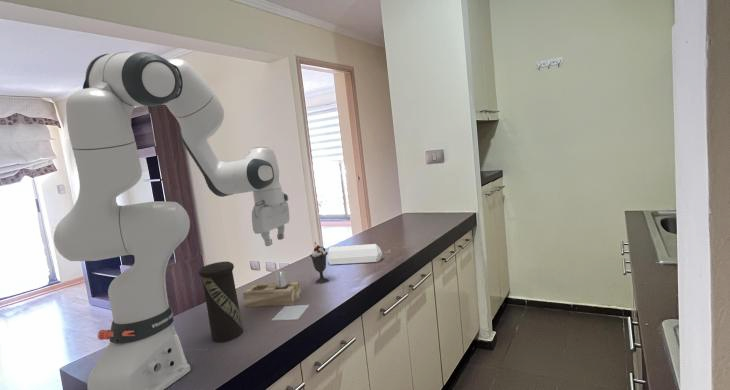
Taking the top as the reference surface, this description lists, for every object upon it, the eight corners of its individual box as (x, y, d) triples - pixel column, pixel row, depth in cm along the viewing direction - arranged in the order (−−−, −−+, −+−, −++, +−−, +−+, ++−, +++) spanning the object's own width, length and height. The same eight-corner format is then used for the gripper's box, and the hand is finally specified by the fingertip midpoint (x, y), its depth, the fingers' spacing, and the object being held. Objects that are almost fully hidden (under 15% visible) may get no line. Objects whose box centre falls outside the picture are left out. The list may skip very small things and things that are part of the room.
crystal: (322, 258, 159) (379, 255, 154) (325, 246, 165) (380, 242, 159) (327, 270, 164) (382, 267, 158) (330, 258, 169) (384, 254, 164)
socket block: (292, 305, 121) (290, 290, 120) (245, 308, 124) (242, 292, 123) (301, 296, 129) (299, 281, 128) (256, 298, 132) (254, 284, 131)
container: (214, 347, 98) (201, 271, 96) (207, 336, 106) (195, 265, 104) (248, 336, 103) (236, 262, 101) (239, 325, 111) (228, 257, 108)
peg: (287, 303, 124) (282, 272, 123) (278, 303, 124) (273, 273, 123) (290, 299, 127) (285, 269, 126) (282, 299, 127) (277, 270, 126)
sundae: (316, 285, 137) (310, 244, 136) (311, 281, 143) (305, 241, 142) (333, 281, 140) (328, 240, 138) (327, 276, 146) (322, 237, 144)
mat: (297, 320, 109) (297, 319, 109) (271, 321, 110) (271, 320, 110) (309, 306, 119) (309, 304, 119) (285, 307, 120) (284, 306, 120)
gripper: (263, 201, 112) (270, 248, 113) (289, 195, 132) (295, 235, 133) (243, 204, 113) (250, 250, 114) (272, 197, 133) (278, 236, 134)
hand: (275, 242), depth 123 cm, fingers open, 8 cm apart
